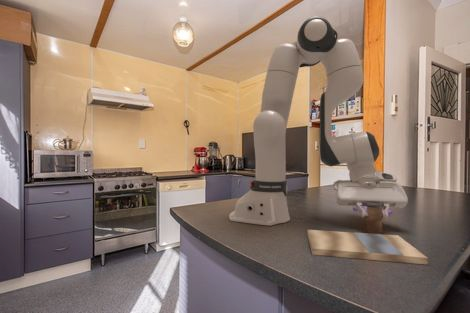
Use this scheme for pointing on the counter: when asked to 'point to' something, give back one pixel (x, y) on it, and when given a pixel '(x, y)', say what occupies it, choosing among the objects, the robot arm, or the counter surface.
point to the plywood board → (364, 246)
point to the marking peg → (374, 218)
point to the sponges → (366, 209)
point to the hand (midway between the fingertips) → (375, 217)
